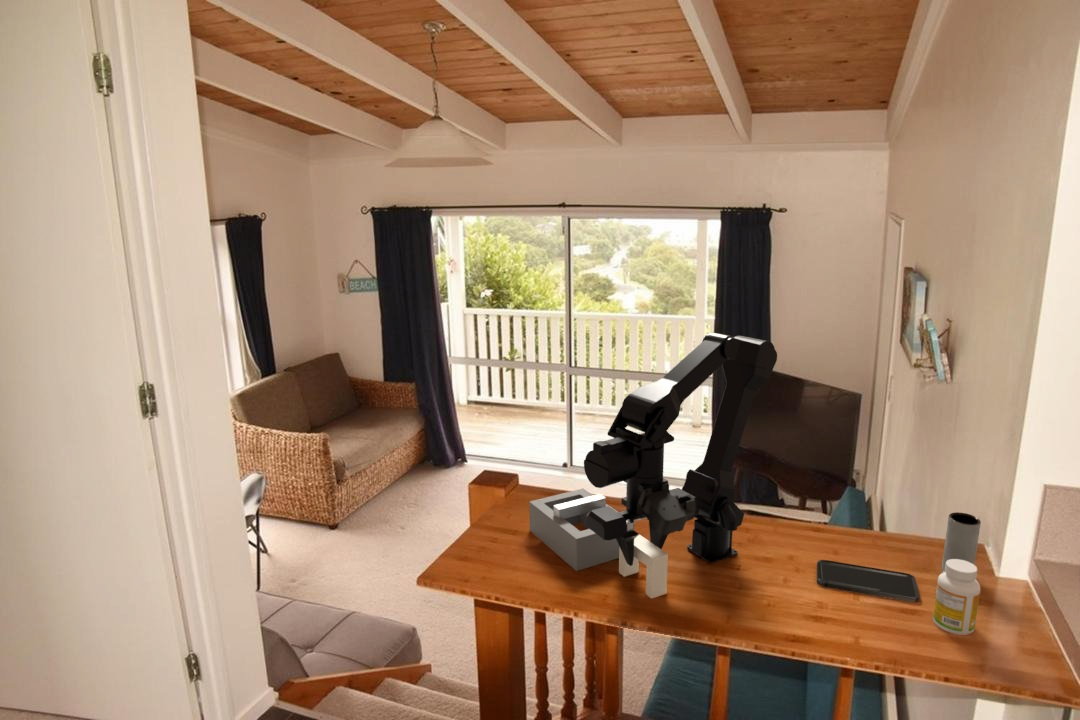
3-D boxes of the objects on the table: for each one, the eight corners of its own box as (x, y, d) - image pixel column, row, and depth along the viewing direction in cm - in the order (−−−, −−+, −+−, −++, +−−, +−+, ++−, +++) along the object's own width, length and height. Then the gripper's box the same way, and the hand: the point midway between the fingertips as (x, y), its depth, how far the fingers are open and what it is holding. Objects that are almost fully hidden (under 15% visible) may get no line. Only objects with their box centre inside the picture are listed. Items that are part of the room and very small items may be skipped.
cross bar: (599, 503, 131) (600, 493, 131) (605, 507, 130) (606, 497, 129) (553, 515, 127) (553, 505, 126) (559, 520, 125) (559, 509, 125)
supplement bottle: (959, 613, 106) (968, 555, 104) (982, 635, 101) (992, 574, 99) (924, 614, 106) (932, 556, 104) (946, 636, 101) (954, 575, 99)
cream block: (633, 568, 120) (634, 530, 119) (666, 593, 113) (667, 553, 111) (618, 572, 119) (619, 534, 117) (651, 598, 111) (652, 558, 110)
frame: (583, 516, 140) (583, 488, 138) (633, 553, 125) (634, 522, 124) (529, 530, 134) (529, 501, 133) (576, 571, 120) (576, 538, 118)
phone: (817, 558, 121) (914, 574, 116) (816, 564, 122) (913, 580, 116) (817, 581, 114) (920, 599, 109) (816, 588, 114) (919, 606, 109)
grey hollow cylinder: (976, 583, 114) (985, 525, 112) (946, 580, 115) (954, 523, 113) (966, 569, 119) (974, 513, 116) (937, 566, 120) (944, 511, 117)
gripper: (626, 503, 100) (624, 600, 104) (725, 477, 109) (720, 568, 112) (584, 476, 110) (584, 566, 113) (678, 454, 118) (675, 539, 122)
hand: (642, 560), depth 115 cm, fingers open, 5 cm apart
